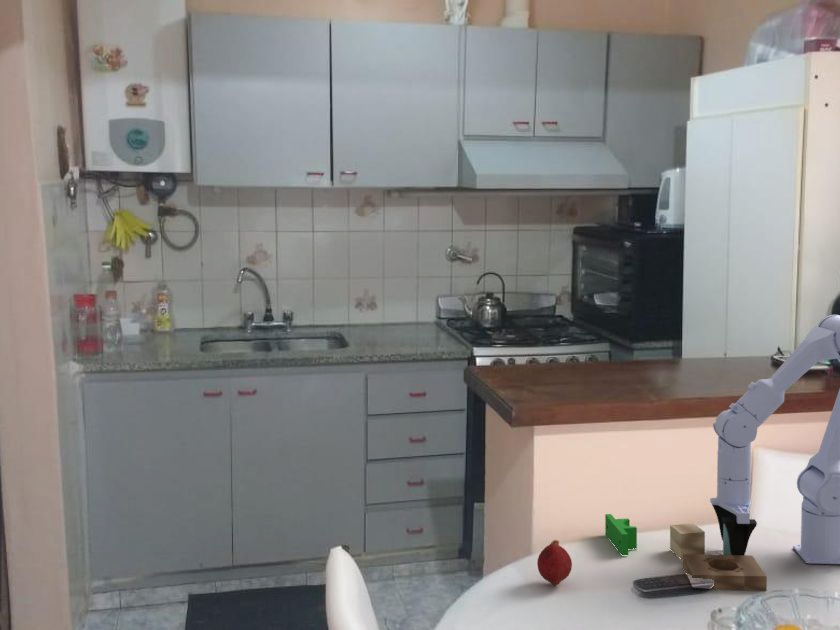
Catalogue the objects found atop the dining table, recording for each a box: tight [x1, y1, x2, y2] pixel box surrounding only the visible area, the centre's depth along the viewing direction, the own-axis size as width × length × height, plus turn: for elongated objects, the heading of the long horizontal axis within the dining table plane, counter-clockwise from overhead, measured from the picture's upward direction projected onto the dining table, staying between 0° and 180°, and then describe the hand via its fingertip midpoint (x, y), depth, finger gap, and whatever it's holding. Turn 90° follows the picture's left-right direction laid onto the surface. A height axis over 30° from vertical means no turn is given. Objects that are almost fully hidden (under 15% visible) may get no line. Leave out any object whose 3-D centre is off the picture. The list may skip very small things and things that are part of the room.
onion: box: [536, 539, 573, 586], centre depth 147 cm, size 6×6×8 cm
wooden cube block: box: [669, 522, 706, 559], centre depth 159 cm, size 5×5×5 cm
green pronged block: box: [604, 513, 638, 556], centre depth 164 cm, size 11×4×5 cm, turn 4°
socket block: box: [682, 554, 768, 592], centre depth 148 cm, size 12×9×2 cm
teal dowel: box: [722, 524, 731, 555], centre depth 157 cm, size 3×3×6 cm
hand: (732, 548), depth 157 cm, fingers open, 6 cm apart
